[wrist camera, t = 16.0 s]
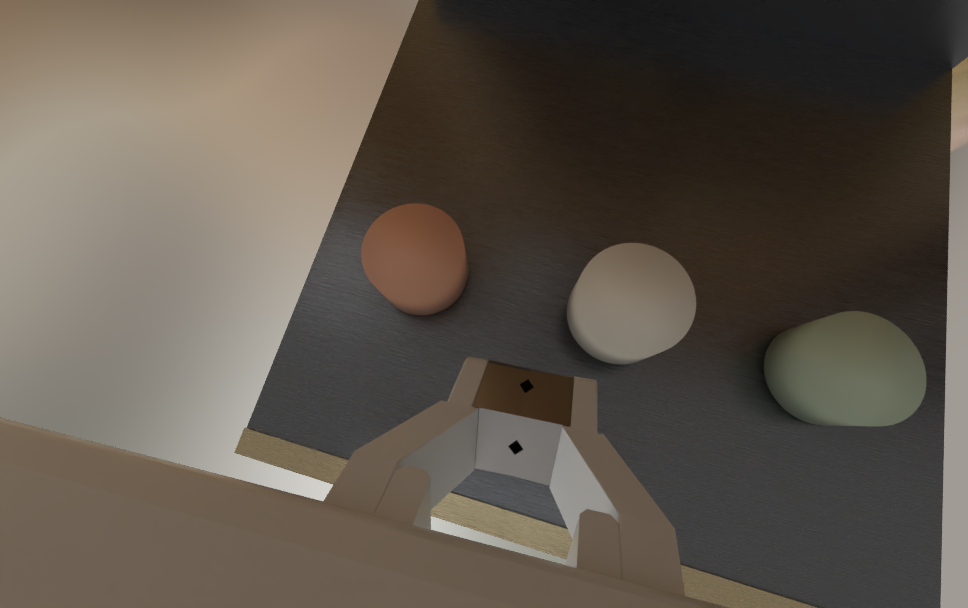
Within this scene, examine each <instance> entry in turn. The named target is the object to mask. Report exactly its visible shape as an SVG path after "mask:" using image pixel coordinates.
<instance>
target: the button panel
mask: <svg viewBox="0 0 968 608" xmlns="http://www.w3.org/2000/svg"><path fill="white" fill-rule="evenodd" d="M967 57H968V0H419V1H418V3H417V6H416V8H415V11H414V13H413V16H412V18H411V21H410V23H409V26H408V28H407V31H406V33H405V36H404V38H403V40H402V43H401V45H400V48H399V51H398V53H397V55H396V58H395V60H394V63H393V65H392V68H391V70H390V73H389V75H388V78H387V80H386V83H385V85H384V88H383V90H382V93H381V95H380V98H379V100H378V103H377V106H376V108H375V110H374V113H373V115H372V118H371V120H370V123H369V125H368V128H367V130H366V132H365V135H364V138H363V140H362V143H361V145H360V147H359V150H358V152H357V155H356V157H355V160H354V162H353V165H352V167H351V170H350V172H349V175H348V177H347V180H346V183H345V185H344V187H343V190H342V192H341V195H340V197H339V200H338V202H337V205H336V207H335V210H334V212H333V215H332V217H331V219H330V222H329V225H328V227H327V230H326V232H325V234H324V237H323V239H322V242H321V244H320V247H319V249H318V252H317V254H316V257H315V259H314V262H313V264H312V267H311V269H310V272H309V274H308V277H307V279H306V282H305V284H304V287H303V289H302V292H301V294H300V297H299V299H298V302H297V304H296V307H295V309H294V312H293V314H292V317H291V319H290V322H289V324H288V327H287V329H286V331H285V334H284V336H283V339H282V341H281V344H280V346H279V349H278V352H277V354H276V356H275V359H274V361H273V364H272V366H271V369H270V371H269V374H268V376H267V379H266V381H265V384H264V386H263V389H262V391H261V394H260V396H259V399H258V401H257V404H256V406H255V409H254V411H253V413H252V416H251V418H250V421H249V423H248V426H247V428H244V430H243V433H242V435H241V438H240V440H239V443H238V445H237V448H236V450H235V453H237V454H240V455H243V456H246V457H250V458H253V459H256V460H259V461H262V462H265V463H268V464H271V465H274V466H277V467H281V468H284V469H287V470H290V471H293V472H296V473H299V474H302V475H306V476H309V477H312V478H315V479H318V480H321V481H324V482H327V483H330V484H333V485H334V483H335V482H336V480H337V478H338V477H339V475H340V474H341V472H342V470H343V469H344V467H345V465H346V464H347V462H348V460H349V459H350V457H351V456H352V454H353V452H354V451H355V450H357V449H359V448H361V447H362V446H364V445H366V444H367V443H369V442H371V441H373V440H374V439H376V438H378V437H379V436H381V435H383V434H385V433H386V432H388V431H390V430H391V429H393V428H395V427H397V426H398V425H400V424H402V423H403V422H405V421H407V420H409V419H410V418H412V417H414V416H415V415H417V414H419V413H421V412H422V411H424V410H426V409H427V408H429V407H431V406H433V405H434V404H436V403H438V402H439V401H446V402H447V401H448V399H449V396H450V394H451V392H452V389H453V387H454V385H455V382H456V380H457V378H458V376H459V373H460V371H461V369H462V366H463V364H464V362H465V359H466V358H467V357H468V356H472V357H476V358H481V359H486V360H492V361H497V362H501V363H506V364H511V365H515V366H520V367H525V368H529V369H533V370H539V371H544V372H549V373H555V374H560V375H566V376H571V377H580V378H586V379H592V380H596V382H597V433H598V434H603V435H605V437H606V438H607V439H608V441H609V442H610V443H611V445H612V446H613V447H614V449H615V450H616V451H617V453H618V454H619V455H620V457H621V458H622V459H623V460H624V462H625V463H626V464H627V466H628V467H629V468H630V470H631V471H632V472H633V474H634V475H635V476H636V478H637V479H638V480H639V482H640V483H641V484H642V486H643V487H644V488H645V490H646V491H647V492H648V494H649V495H650V496H651V498H652V499H653V500H654V502H655V503H656V504H657V506H658V507H659V508H660V510H661V511H662V512H663V514H664V515H665V516H666V517H667V519H668V520H669V521H670V523H671V524H672V525H673V527H674V528H675V533H676V539H677V546H678V552H679V559H680V565H681V571H682V578H683V584H684V590H685V596H686V597H690V598H694V599H698V600H702V601H706V602H709V603H713V604H717V605H721V606H725V607H728V608H940V595H941V594H940V593H941V549H942V548H941V547H942V502H943V501H942V500H943V458H944V413H945V412H944V411H945V368H946V367H945V366H946V321H947V277H948V272H947V271H948V231H949V230H948V228H949V186H950V185H949V184H950V140H951V95H952V68H954V67H955V66H956V65H958V64H959V63H960V62H961V61H963V60H964V59H965V58H967ZM412 203H419V204H427V205H431V206H434V207H436V208H438V209H440V210H442V211H444V212H445V213H446V214H448V215H449V216H450V217H451V218H452V219H453V220H454V221H455V223H456V224H457V226H458V227H459V229H460V231H461V234H462V237H463V241H464V246H465V251H466V256H467V261H468V269H469V273H468V280H467V284H466V286H465V289H464V290H463V292H462V294H461V295H460V297H459V298H458V299H457V300H456V301H455V302H454V303H453V304H452V305H451V306H449V307H448V308H446V309H445V310H443V311H440V312H438V313H435V314H431V315H412V314H408V313H405V312H403V311H401V310H399V309H397V308H396V307H394V306H393V305H392V304H391V303H390V302H389V301H388V300H387V299H386V298H385V297H384V296H383V295H382V294H381V293H380V292H379V290H378V289H377V288H376V287H375V286H374V285H373V284H372V283H371V282H370V280H369V279H368V277H367V275H366V273H365V271H364V269H363V265H362V259H361V249H362V244H363V240H364V237H365V235H366V233H367V231H368V229H369V228H370V226H371V225H372V224H373V222H374V221H375V220H376V219H377V218H378V217H379V216H381V215H382V214H383V213H385V212H387V211H388V210H390V209H392V208H394V207H397V206H400V205H404V204H412ZM623 243H642V244H647V245H650V246H654V247H656V248H659V249H661V250H663V251H664V252H666V253H668V254H669V255H671V256H672V257H673V258H675V259H676V260H677V261H678V262H679V263H680V264H681V265H682V267H683V268H684V269H685V271H686V272H687V274H688V275H689V277H690V279H691V281H692V284H693V287H694V290H695V295H696V312H695V316H694V320H693V323H692V325H691V327H690V329H689V330H688V332H687V333H686V335H685V336H684V337H683V338H682V339H681V340H680V341H679V342H678V343H677V344H675V345H674V346H673V347H671V348H669V349H667V350H665V351H663V352H661V353H658V354H656V355H653V356H651V357H648V358H646V359H644V360H641V361H638V362H635V363H631V364H622V365H620V364H611V363H606V362H604V361H601V360H598V359H596V358H594V357H593V356H591V355H590V354H588V353H587V352H586V351H585V350H583V349H582V348H581V346H580V345H579V344H578V343H577V342H576V340H575V339H574V337H573V335H572V333H571V331H570V328H569V325H568V321H567V304H568V299H569V296H570V294H571V292H572V290H573V288H574V286H575V284H576V283H577V281H578V279H579V277H580V276H581V274H582V272H583V270H584V269H585V267H586V266H587V264H588V263H589V262H590V261H591V260H592V258H593V257H595V256H596V255H597V254H598V253H600V252H601V251H603V250H605V249H607V248H609V247H611V246H614V245H617V244H623ZM846 311H861V312H867V313H871V314H874V315H877V316H880V317H882V318H884V319H886V320H888V321H890V322H891V323H893V324H894V325H896V326H897V327H898V328H900V329H901V330H902V331H903V332H904V333H905V334H906V335H907V336H908V337H909V338H910V339H911V341H912V342H913V343H914V345H915V346H916V348H917V349H918V351H919V353H920V355H921V357H922V360H923V363H924V366H925V371H926V381H927V383H926V391H925V395H924V398H923V400H922V402H921V404H920V406H919V407H918V409H917V410H916V411H915V412H914V413H913V414H912V415H911V416H910V417H908V418H907V419H905V420H903V421H902V422H899V423H897V424H894V425H889V426H878V427H877V426H828V425H815V424H811V423H807V422H805V421H802V420H800V419H798V418H796V417H794V416H793V415H791V414H790V413H788V412H787V411H786V410H785V409H784V408H783V407H782V406H781V405H780V404H779V403H778V402H777V401H776V400H775V398H774V397H773V395H772V394H771V392H770V390H769V388H768V385H767V383H766V379H765V375H764V358H765V354H766V351H767V348H768V347H769V345H770V343H771V342H772V340H773V339H774V338H775V337H776V336H777V335H778V334H780V333H781V332H783V331H785V330H787V329H789V328H792V327H795V326H798V325H801V324H805V323H808V322H811V321H814V320H818V319H821V318H824V317H827V316H830V315H834V314H837V313H840V312H846ZM549 487H550V486H549V485H545V484H541V483H537V482H533V481H530V480H526V479H522V478H518V477H514V476H510V475H505V474H500V473H496V472H491V471H486V470H481V469H476V468H474V471H473V472H472V473H471V474H470V475H469V476H467V477H466V478H465V479H464V480H463V481H462V482H461V483H460V484H459V485H458V486H457V487H455V488H454V489H453V490H452V491H451V492H450V493H449V494H448V495H447V496H446V497H445V498H443V499H442V500H441V501H440V502H439V503H438V504H437V505H436V506H435V507H434V508H433V509H431V516H433V517H436V518H440V519H443V520H446V521H449V522H452V523H455V524H458V525H461V526H464V527H467V528H471V529H474V530H477V531H480V532H483V533H486V534H489V535H493V536H495V537H499V538H502V539H505V540H508V541H511V542H514V543H517V544H520V545H523V546H527V547H530V548H533V549H536V550H539V551H542V552H545V553H548V554H552V555H554V556H558V557H561V558H564V559H567V556H568V552H569V549H570V546H571V542H572V537H571V535H570V533H569V530H568V528H567V526H566V524H565V521H564V519H563V517H562V515H561V513H560V510H559V508H558V506H557V504H556V501H555V499H554V497H553V495H552V492H551V490H550V488H549Z"/></svg>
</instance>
